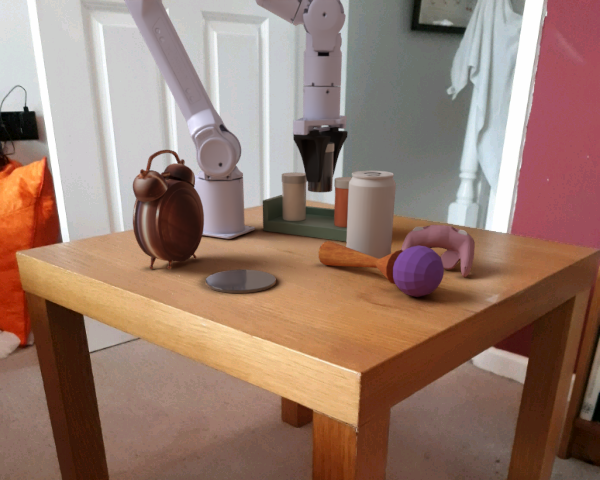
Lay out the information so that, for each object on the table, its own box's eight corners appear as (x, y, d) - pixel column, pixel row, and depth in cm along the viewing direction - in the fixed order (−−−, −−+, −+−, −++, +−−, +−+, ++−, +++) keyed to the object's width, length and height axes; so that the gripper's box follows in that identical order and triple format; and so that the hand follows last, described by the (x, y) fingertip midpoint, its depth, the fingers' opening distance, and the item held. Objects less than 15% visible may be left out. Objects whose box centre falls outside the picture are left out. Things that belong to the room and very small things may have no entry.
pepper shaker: (302, 191, 102) (303, 143, 99) (314, 187, 106) (315, 141, 102) (325, 193, 101) (327, 144, 97) (337, 189, 104) (338, 142, 101)
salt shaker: (277, 219, 107) (276, 174, 104) (289, 215, 110) (289, 171, 107) (298, 222, 105) (299, 176, 102) (310, 217, 108) (311, 173, 105)
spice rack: (263, 230, 107) (262, 200, 105) (289, 220, 114) (289, 192, 112) (360, 243, 100) (361, 211, 98) (381, 232, 107) (383, 201, 105)
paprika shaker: (328, 226, 103) (330, 179, 99) (340, 221, 106) (341, 176, 103) (352, 228, 101) (354, 181, 98) (363, 223, 104) (365, 178, 101)
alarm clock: (182, 253, 94) (173, 145, 87) (209, 257, 92) (202, 147, 85) (134, 272, 85) (120, 153, 78) (163, 277, 83) (151, 155, 76)
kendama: (346, 232, 89) (458, 250, 74) (341, 274, 91) (449, 300, 76) (313, 229, 86) (424, 248, 71) (308, 274, 87) (415, 301, 73)
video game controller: (471, 282, 87) (479, 231, 87) (469, 276, 82) (478, 222, 82) (399, 275, 90) (407, 226, 89) (395, 268, 85) (403, 217, 85)
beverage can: (389, 255, 94) (395, 169, 88) (390, 267, 88) (397, 176, 82) (346, 253, 94) (349, 168, 89) (345, 265, 89) (348, 175, 83)
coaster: (191, 286, 80) (191, 283, 80) (231, 268, 87) (231, 266, 87) (251, 297, 76) (251, 294, 76) (288, 278, 83) (288, 275, 83)
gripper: (324, 87, 89) (321, 188, 95) (365, 86, 100) (360, 176, 106) (280, 86, 92) (281, 184, 98) (325, 85, 103) (323, 172, 109)
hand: (319, 180), depth 102 cm, fingers closed on pepper shaker, 4 cm apart
